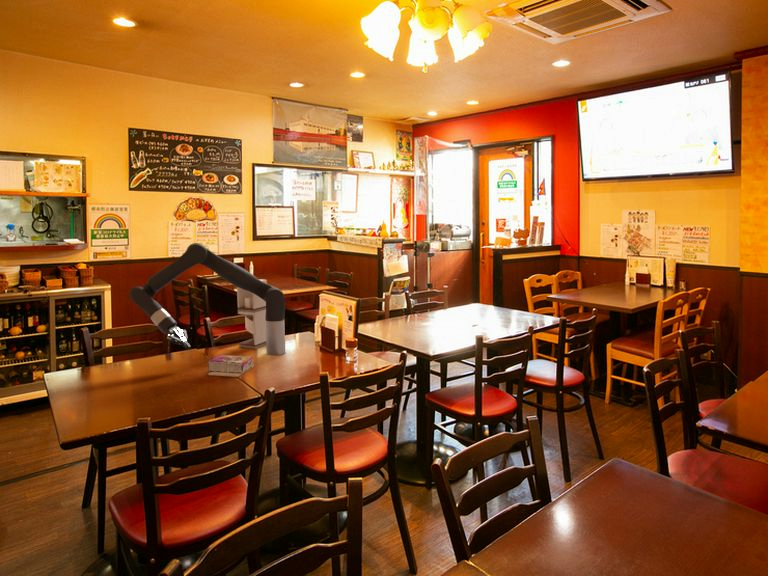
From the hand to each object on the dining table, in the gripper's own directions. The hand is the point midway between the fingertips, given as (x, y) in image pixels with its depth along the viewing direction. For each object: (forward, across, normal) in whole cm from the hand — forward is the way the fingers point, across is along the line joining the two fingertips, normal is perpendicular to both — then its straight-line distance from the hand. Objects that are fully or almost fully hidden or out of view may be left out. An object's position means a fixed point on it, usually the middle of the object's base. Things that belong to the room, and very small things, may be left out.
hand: (189, 348), depth 242 cm
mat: (+21, 0, -8) cm, 23 cm away
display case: (+13, +45, 0) cm, 47 cm away
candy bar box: (+13, 0, -4) cm, 13 cm away
